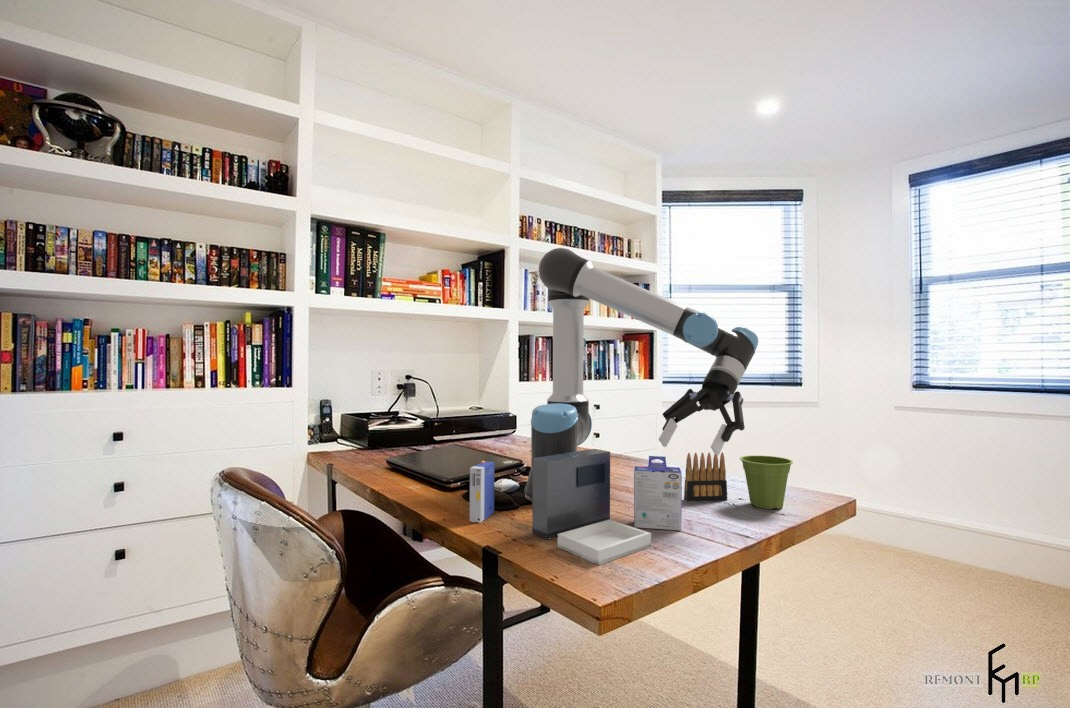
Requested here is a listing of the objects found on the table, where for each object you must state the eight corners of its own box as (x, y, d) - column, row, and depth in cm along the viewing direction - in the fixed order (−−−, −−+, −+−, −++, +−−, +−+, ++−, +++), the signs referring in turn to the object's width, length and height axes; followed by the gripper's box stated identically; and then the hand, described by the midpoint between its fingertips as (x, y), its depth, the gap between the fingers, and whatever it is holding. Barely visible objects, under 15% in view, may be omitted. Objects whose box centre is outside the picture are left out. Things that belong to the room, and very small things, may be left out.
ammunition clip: (724, 498, 130) (724, 451, 130) (727, 500, 128) (727, 452, 128) (683, 499, 129) (683, 452, 129) (686, 501, 127) (686, 453, 127)
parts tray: (557, 547, 95) (557, 534, 95) (609, 531, 104) (609, 519, 104) (598, 565, 87) (598, 550, 87) (651, 546, 96) (651, 533, 96)
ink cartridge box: (680, 523, 110) (680, 456, 110) (682, 531, 105) (682, 461, 105) (634, 520, 112) (634, 454, 112) (633, 528, 107) (634, 459, 107)
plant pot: (786, 500, 128) (786, 455, 128) (799, 514, 117) (799, 465, 117) (736, 497, 131) (736, 453, 131) (744, 511, 119) (744, 462, 119)
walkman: (483, 511, 118) (483, 459, 118) (494, 512, 117) (494, 460, 117) (468, 521, 110) (469, 466, 110) (480, 523, 109) (480, 467, 110)
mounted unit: (530, 532, 103) (531, 457, 104) (593, 516, 115) (593, 448, 115) (548, 540, 99) (548, 462, 99) (611, 522, 111) (611, 451, 111)
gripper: (779, 391, 117) (746, 466, 107) (685, 387, 136) (649, 449, 126) (768, 369, 113) (732, 443, 104) (673, 367, 133) (636, 430, 123)
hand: (687, 447), depth 115 cm, fingers open, 13 cm apart
